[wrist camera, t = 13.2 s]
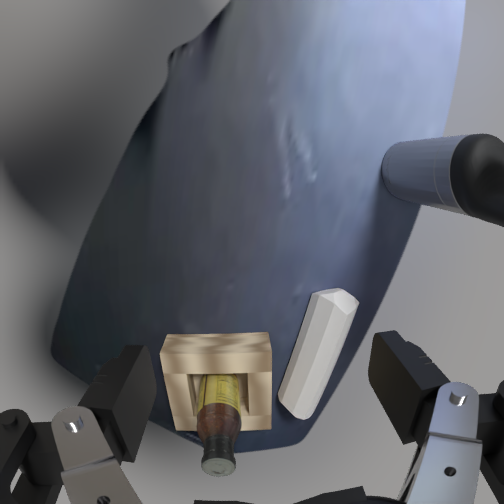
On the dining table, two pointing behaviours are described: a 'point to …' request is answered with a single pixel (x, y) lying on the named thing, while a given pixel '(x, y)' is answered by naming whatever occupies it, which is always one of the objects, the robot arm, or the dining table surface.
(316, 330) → the crystal
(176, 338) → the socket block
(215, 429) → the sauce bottle
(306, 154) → the dining table surface
